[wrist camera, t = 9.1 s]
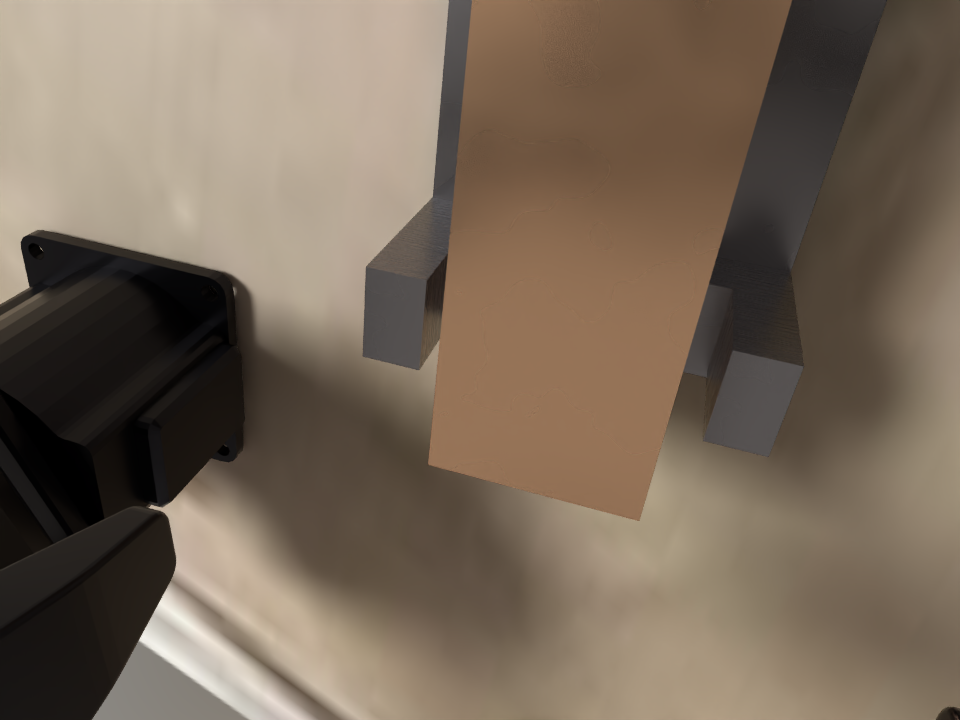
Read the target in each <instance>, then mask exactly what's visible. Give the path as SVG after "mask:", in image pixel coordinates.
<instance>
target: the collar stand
mask: <svg viewBox="0 0 960 720" xmlns="http://www.w3.org/2000/svg"><path fill="white" fill-rule="evenodd" d="M886 2H887V0H792V2H791V6H790V9H789V12H788V16H787V19H786V23H785V26H784V29H783V33H782V36H781V40H780V43H779V46H778V50H777V53H776V57H775V60H774V64H773V67H772V70H771V74H770V77H769V81H768V84H767V87H766V91H765V94H764V98H763V101H762V104H761V108H760V111H759V115H758V118H757V121H756V125H755V128H754V132H753V135H752V138H751V142H750V145H749V149H748V152H747V156H746V159H745V162H744V166H743V169H742V173H741V176H740V179H739V183H738V186H737V190H736V193H735V196H734V200H733V203H732V207H731V210H730V213H729V217H728V220H727V224H726V227H725V230H724V234H723V237H722V241H721V244H720V248H719V251H718V254H717V258H716V261H715V265H714V268H713V271H712V275H711V278H710V282H709V285H708V288H707V292H706V295H705V299H704V302H703V305H702V309H701V312H700V316H699V319H698V322H697V326H696V329H695V333H694V336H693V339H692V343H691V346H690V350H689V353H688V357H687V360H686V363H685V367H684V370H683V372H685V373H690V374H694V375H698V376H702V377H707V381H706V398H705V415H704V432H703V441H706V442H710V443H714V444H718V445H722V446H726V447H730V448H734V449H738V450H742V451H746V452H750V453H754V454H758V455H762V456H766V457H769V454H770V452H771V449H772V447H773V444H774V442H775V439H776V437H777V434H778V432H779V429H780V426H781V424H782V421H783V419H784V416H785V414H786V411H787V409H788V406H789V403H790V401H791V398H792V396H793V393H794V391H795V388H796V386H797V383H798V381H799V378H800V375H801V373H802V370H803V368H804V363H803V356H802V349H801V342H800V335H799V328H798V320H797V313H796V306H795V299H794V292H793V285H792V277H791V270H792V267H793V264H794V261H795V258H796V256H797V253H798V250H799V247H800V244H801V241H802V239H803V236H804V233H805V230H806V227H807V224H808V222H809V219H810V216H811V213H812V210H813V208H814V205H815V202H816V199H817V196H818V193H819V191H820V188H821V185H822V182H823V179H824V177H825V174H826V171H827V168H828V165H829V162H830V160H831V157H832V154H833V151H834V148H835V146H836V143H837V140H838V137H839V134H840V131H841V129H842V126H843V123H844V120H845V117H846V115H847V112H848V109H849V106H850V103H851V100H852V98H853V95H854V92H855V89H856V86H857V84H858V81H859V78H860V75H861V72H862V69H863V67H864V64H865V61H866V58H867V55H868V53H869V50H870V47H871V44H872V41H873V38H874V36H875V33H876V30H877V27H878V24H879V21H880V19H881V16H882V13H883V10H884V7H885V5H886ZM471 6H472V0H449V8H448V20H447V32H446V44H445V56H444V69H443V81H442V93H441V105H440V117H439V129H438V142H437V154H436V166H435V178H434V190H433V197H432V198H431V200H430V201H429V202H428V203H427V204H426V205H425V206H424V207H423V208H422V209H421V210H420V211H419V212H418V213H417V214H416V215H415V216H414V217H413V218H412V219H411V220H410V221H409V222H408V224H407V225H406V226H405V227H404V228H403V229H402V230H401V231H400V232H399V233H398V234H397V235H396V236H395V237H394V238H393V239H392V240H391V241H390V242H389V243H388V244H387V245H386V246H385V247H384V249H383V250H382V251H381V252H380V253H379V254H378V255H377V256H376V257H375V258H374V259H373V260H372V261H371V262H370V263H369V264H368V265H367V266H366V281H365V309H364V336H363V357H367V358H371V359H376V360H380V361H384V362H388V363H392V364H396V365H400V366H404V367H408V368H412V369H416V370H420V368H421V367H422V365H423V364H424V362H425V361H426V359H427V358H428V356H429V354H430V353H431V351H432V350H433V348H434V347H435V345H436V344H437V342H438V341H439V339H440V333H441V323H442V312H443V302H444V291H445V281H446V270H447V260H448V249H449V238H450V228H451V217H452V207H453V196H454V186H455V175H456V164H457V154H458V143H459V133H460V122H461V112H462V101H463V90H464V80H465V69H466V59H467V48H468V38H469V27H470V16H471Z"/></svg>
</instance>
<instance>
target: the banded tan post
mask: <svg viewBox="0 0 960 720" xmlns="http://www.w3.org/2000/svg"><path fill="white" fill-rule="evenodd" d="M791 2H792V0H472V6H471V16H470V27H469V38H468V48H467V59H466V69H465V80H464V90H463V101H462V112H461V122H460V133H459V143H458V154H457V164H456V175H455V186H454V196H453V207H452V217H451V228H450V238H449V249H448V260H447V270H446V281H445V291H444V302H443V312H442V323H441V333H440V344H439V355H438V365H437V376H436V386H435V397H434V407H433V418H432V429H431V439H430V450H429V460H428V465H431V466H435V467H438V468H442V469H446V470H450V471H453V472H457V473H461V474H465V475H468V476H472V477H476V478H480V479H483V480H487V481H491V482H495V483H498V484H502V485H506V486H510V487H513V488H517V489H521V490H525V491H528V492H532V493H536V494H540V495H543V496H547V497H551V498H555V499H558V500H562V501H566V502H569V503H573V504H577V505H581V506H584V507H588V508H592V509H596V510H599V511H603V512H607V513H611V514H614V515H618V516H622V517H626V518H629V519H633V520H637V521H639V520H640V517H641V513H642V510H643V506H644V503H645V500H646V496H647V493H648V489H649V486H650V483H651V479H652V476H653V472H654V469H655V466H656V462H657V459H658V455H659V452H660V449H661V445H662V442H663V438H664V435H665V431H666V428H667V425H668V421H669V418H670V414H671V411H672V408H673V404H674V401H675V397H676V394H677V391H678V387H679V384H680V380H681V377H682V374H683V370H684V367H685V363H686V360H687V357H688V353H689V350H690V346H691V343H692V339H693V336H694V333H695V329H696V326H697V322H698V319H699V316H700V312H701V309H702V305H703V302H704V299H705V295H706V292H707V288H708V285H709V282H710V278H711V275H712V271H713V268H714V265H715V261H716V258H717V254H718V251H719V248H720V244H721V241H722V237H723V234H724V230H725V227H726V224H727V220H728V217H729V213H730V210H731V207H732V203H733V200H734V196H735V193H736V190H737V186H738V183H739V179H740V176H741V173H742V169H743V166H744V162H745V159H746V156H747V152H748V149H749V145H750V142H751V138H752V135H753V132H754V128H755V125H756V121H757V118H758V115H759V111H760V108H761V104H762V101H763V98H764V94H765V91H766V87H767V84H768V81H769V77H770V74H771V70H772V67H773V64H774V60H775V57H776V53H777V50H778V46H779V43H780V40H781V36H782V33H783V29H784V26H785V23H786V19H787V16H788V12H789V9H790V6H791Z"/></svg>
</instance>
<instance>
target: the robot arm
mask: <svg viewBox="0 0 960 720" xmlns="http://www.w3.org/2000/svg"><path fill="white" fill-rule="evenodd" d="M39 246H40V247H41V248H42V250H43V251H42V250H41V249H40V247H39ZM21 250H22V254H23V259H24V263H25V268H26V273H27V277H28V282H29V286H30V288H28V289H26V290H25V291H23V292H21V293H20V294H18V295H16V296H14V297H13V298H11V299H9V300H7V301H6V302H4V303H2V304H0V720H92V719H93V717H94V716H95V714H96V713H97V711H98V710H99V708H100V706H101V705H102V703H103V702H104V700H105V699H106V697H107V696H108V694H109V693H110V691H111V690H112V688H113V686H114V684H115V683H116V681H117V679H118V678H119V676H120V674H121V672H122V670H123V669H124V667H125V665H126V663H127V661H128V659H129V658H130V656H131V654H132V652H133V650H134V648H135V646H136V645H137V643H138V641H139V639H140V637H141V635H142V633H143V631H144V630H145V628H146V626H147V624H148V622H149V620H150V618H151V617H152V615H153V613H154V611H155V609H156V607H157V605H158V603H159V602H160V600H161V598H162V596H163V594H164V592H165V590H166V589H167V587H168V585H169V583H170V581H171V579H172V577H173V574H174V571H175V567H176V555H175V549H174V544H173V539H172V534H171V528H170V523H169V519H168V517H167V516H166V515H165V513H163V512H161V511H158V510H154V509H150V508H149V507H150V506H151V505H154V506H158V507H164V506H165V505H167V504H168V503H170V502H171V501H173V499H174V498H175V497H176V496H177V495H178V494H179V493H180V492H181V491H182V490H183V488H184V487H185V486H186V485H187V484H188V483H189V482H190V481H191V480H192V479H193V477H194V476H195V475H196V474H197V473H198V472H199V471H200V470H201V469H202V468H203V466H204V465H205V464H206V463H207V462H208V461H209V460H210V459H211V458H212V459H216V460H219V461H223V462H231V461H233V460H234V459H235V458H236V457H237V456H238V455H239V454H240V453H241V451H242V450H243V432H242V424H243V422H244V420H245V413H244V397H243V380H242V364H241V354H240V352H239V350H238V348H237V337H236V321H235V305H234V291H233V287H232V284H231V283H230V281H229V279H228V278H227V277H225V276H224V275H223V274H221V273H219V272H217V271H213V270H208V269H204V268H200V267H196V266H192V265H187V264H183V263H179V262H175V261H171V260H166V259H162V258H158V257H154V256H149V255H145V254H141V253H137V252H133V251H128V250H124V249H120V248H116V247H111V246H107V245H103V244H99V243H95V242H90V241H86V240H82V239H78V238H73V237H69V236H65V235H61V234H57V233H52V232H48V231H44V230H37V231H35V232H33V233H31V234H29V235H27V236H25V237H23V239H22V241H21ZM209 285H210V286H212V287H213V288H214V289H215V290H216V291H217V294H218V295H216V294H214V293H213V292H212V291H211V290H210V287H209ZM224 444H225V445H226V446H227V447H226V446H225V445H224ZM936 720H960V708H956V707H947V708H945V709H943V710H942V711H941V712H940V714H939V715H938V717H937V719H936Z"/></svg>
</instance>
